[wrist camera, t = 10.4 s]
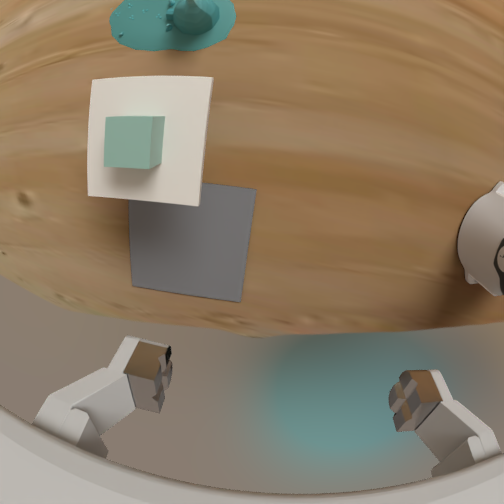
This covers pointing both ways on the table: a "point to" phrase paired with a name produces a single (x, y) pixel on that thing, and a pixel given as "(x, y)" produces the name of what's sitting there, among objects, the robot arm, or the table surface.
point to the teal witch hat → (172, 23)
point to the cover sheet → (177, 137)
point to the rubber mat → (193, 243)
